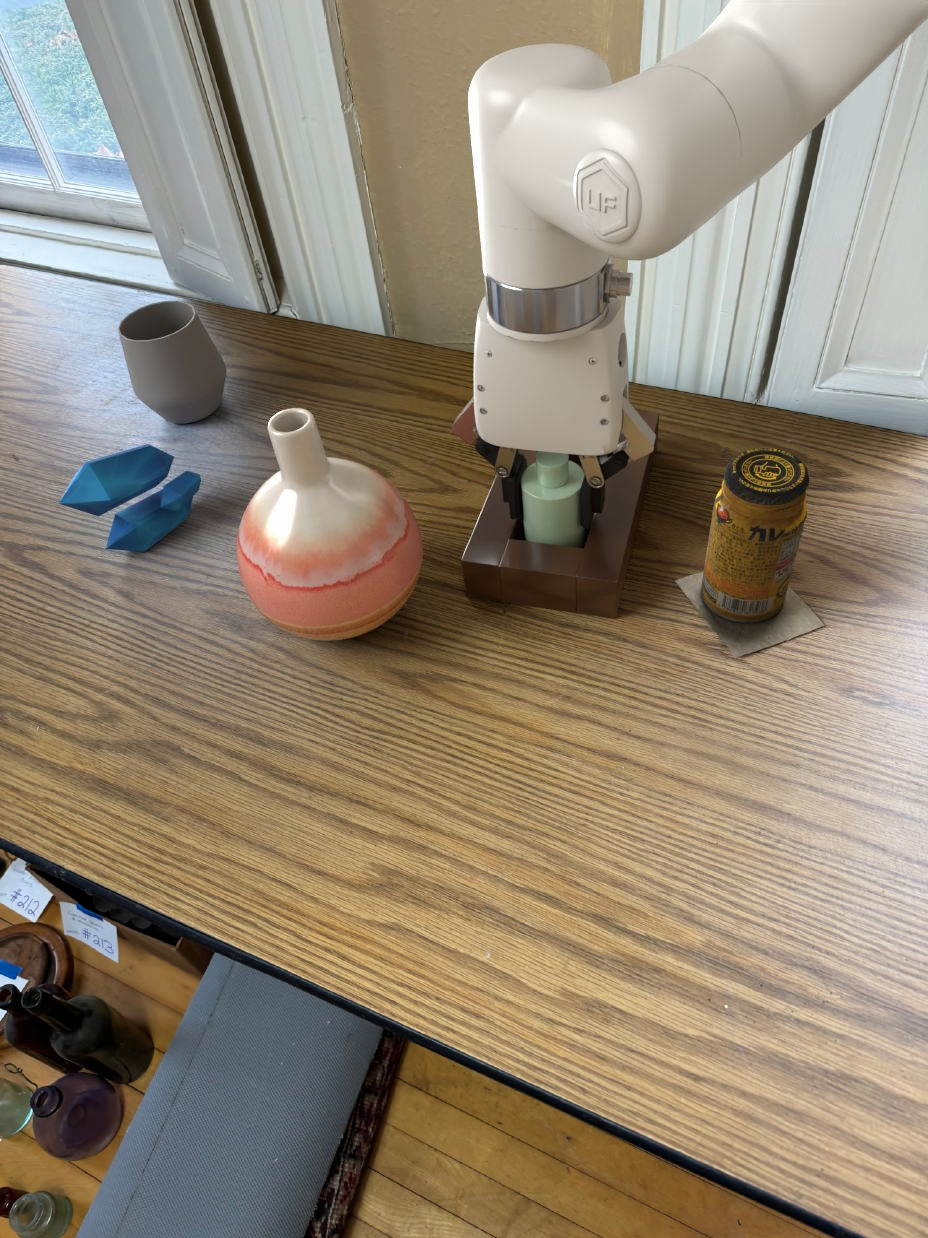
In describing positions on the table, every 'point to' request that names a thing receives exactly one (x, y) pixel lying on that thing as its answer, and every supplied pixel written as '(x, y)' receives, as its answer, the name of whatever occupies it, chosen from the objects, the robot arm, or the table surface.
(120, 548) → the blue crystals
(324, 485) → the vase
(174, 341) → the cup
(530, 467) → the bottle
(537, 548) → the peg block
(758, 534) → the condiment
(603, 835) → the table surface
